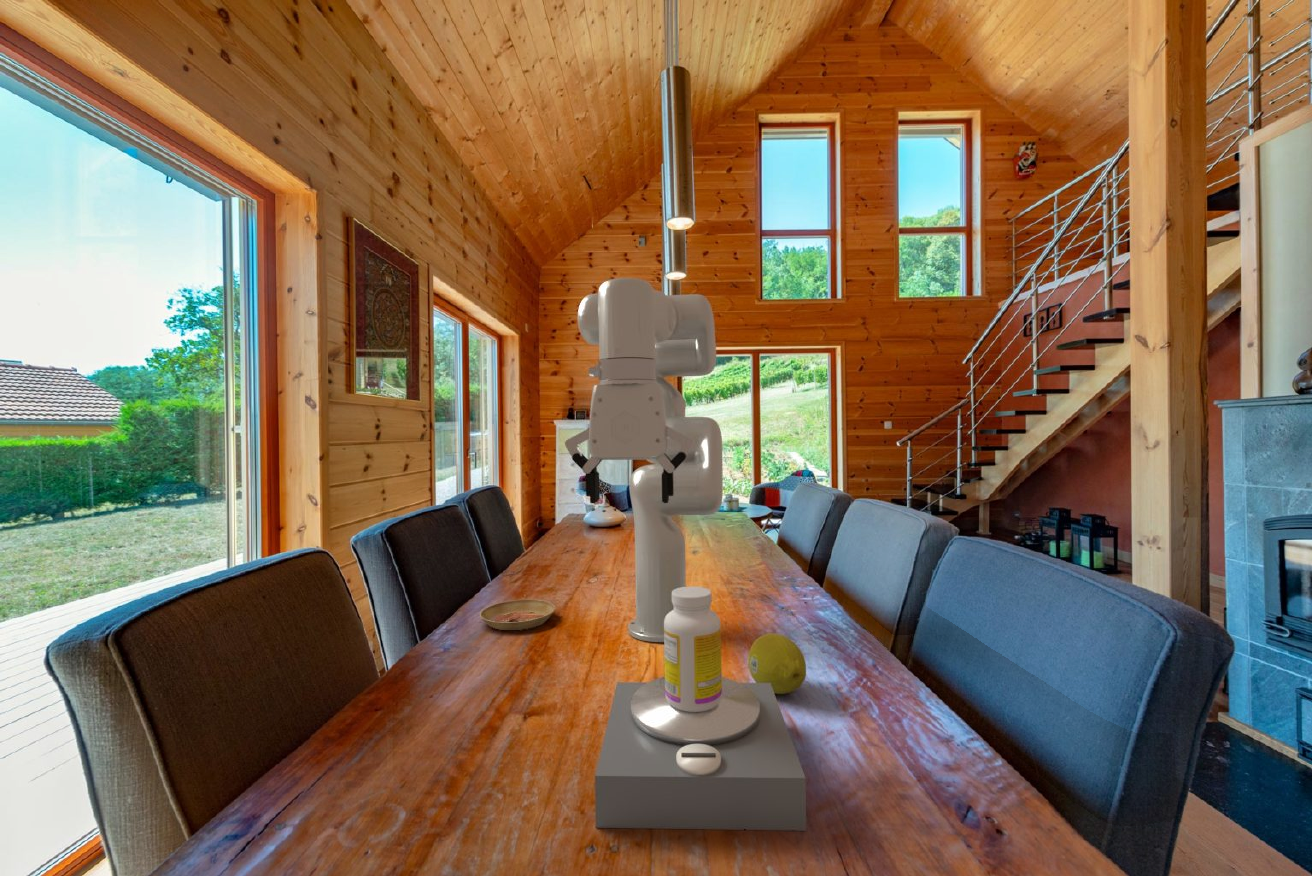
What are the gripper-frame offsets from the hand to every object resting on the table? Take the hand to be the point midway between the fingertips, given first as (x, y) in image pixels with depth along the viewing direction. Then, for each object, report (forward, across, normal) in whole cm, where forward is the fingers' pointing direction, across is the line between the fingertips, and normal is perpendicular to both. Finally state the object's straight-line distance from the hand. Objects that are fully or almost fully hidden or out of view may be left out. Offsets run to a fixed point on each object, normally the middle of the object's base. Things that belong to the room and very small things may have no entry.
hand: (630, 501), depth 76 cm
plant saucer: (+30, -28, +34) cm, 53 cm away
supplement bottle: (+22, +8, -10) cm, 26 cm away
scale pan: (+23, +9, -10) cm, 27 cm away
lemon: (+29, +20, +6) cm, 36 cm away
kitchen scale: (+28, +9, -13) cm, 32 cm away
